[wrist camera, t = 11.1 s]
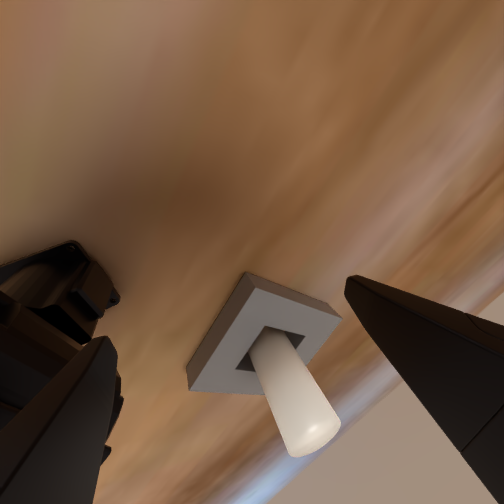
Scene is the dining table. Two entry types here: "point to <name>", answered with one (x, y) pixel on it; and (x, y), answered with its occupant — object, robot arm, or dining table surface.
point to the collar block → (256, 334)
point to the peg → (292, 394)
